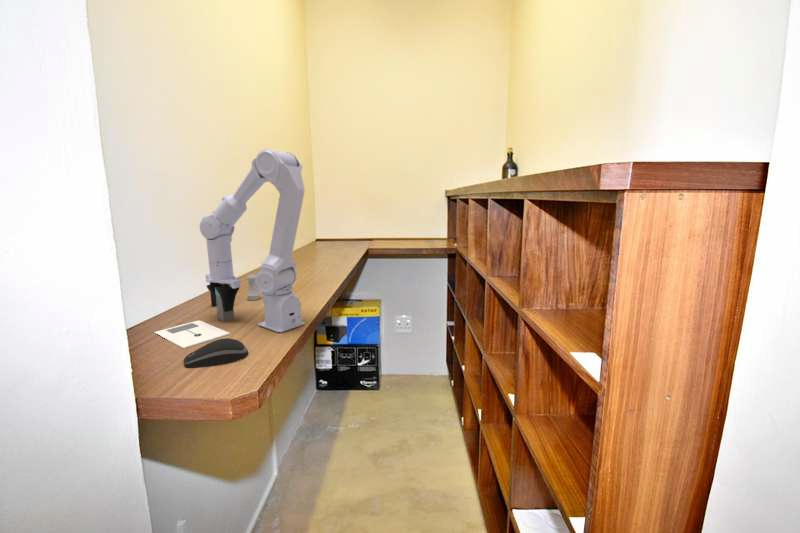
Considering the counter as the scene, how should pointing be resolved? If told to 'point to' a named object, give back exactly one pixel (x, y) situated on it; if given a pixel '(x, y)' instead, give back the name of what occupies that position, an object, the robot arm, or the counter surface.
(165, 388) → the counter surface
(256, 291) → the rook chess piece
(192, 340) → the paper sheet
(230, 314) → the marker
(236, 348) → the computer mouse
